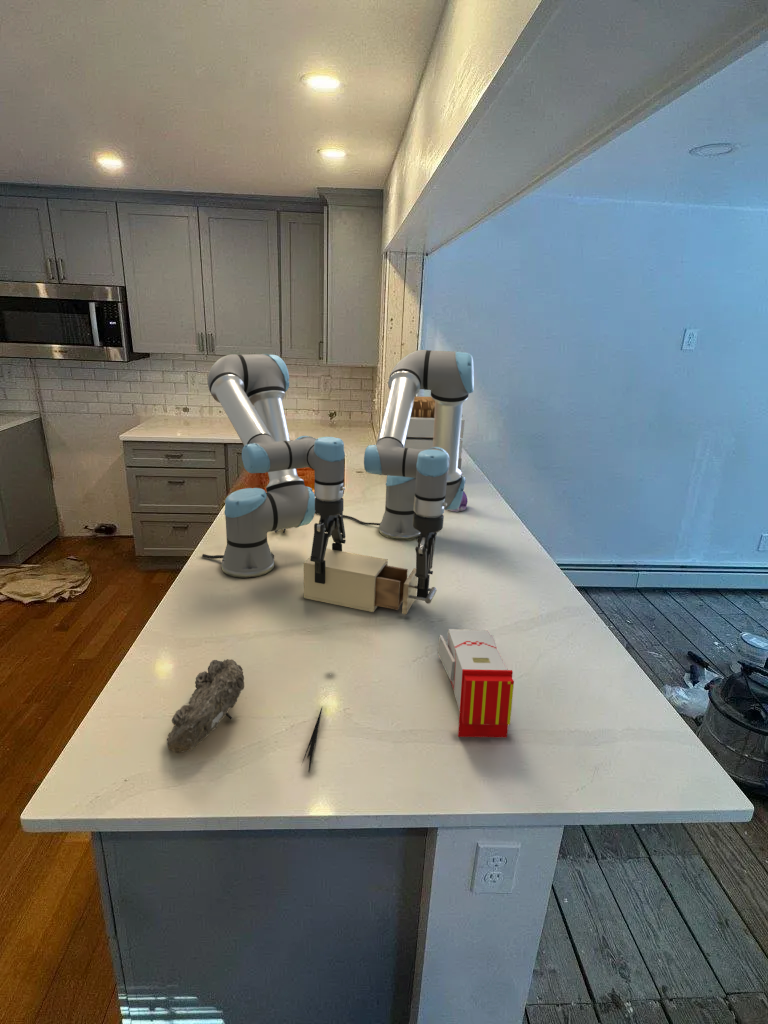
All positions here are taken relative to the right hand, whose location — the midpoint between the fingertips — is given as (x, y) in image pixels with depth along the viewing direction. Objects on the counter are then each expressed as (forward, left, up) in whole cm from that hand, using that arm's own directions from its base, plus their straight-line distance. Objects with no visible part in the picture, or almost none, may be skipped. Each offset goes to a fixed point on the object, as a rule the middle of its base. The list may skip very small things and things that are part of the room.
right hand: (422, 597), depth 148 cm
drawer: (-8, -5, -3) cm, 10 cm away
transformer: (-96, +92, -4) cm, 133 cm away
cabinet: (-18, -11, -4) cm, 22 cm away
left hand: (-22, -14, +2) cm, 26 cm away
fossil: (+5, -61, -4) cm, 61 cm away
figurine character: (-71, +1, -4) cm, 71 cm away
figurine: (-50, +69, -4) cm, 85 cm away
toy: (+30, -15, -4) cm, 34 cm away
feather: (+18, -45, -4) cm, 49 cm away
